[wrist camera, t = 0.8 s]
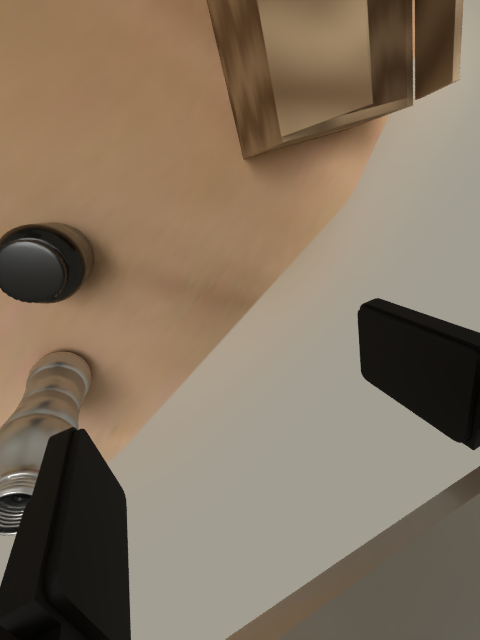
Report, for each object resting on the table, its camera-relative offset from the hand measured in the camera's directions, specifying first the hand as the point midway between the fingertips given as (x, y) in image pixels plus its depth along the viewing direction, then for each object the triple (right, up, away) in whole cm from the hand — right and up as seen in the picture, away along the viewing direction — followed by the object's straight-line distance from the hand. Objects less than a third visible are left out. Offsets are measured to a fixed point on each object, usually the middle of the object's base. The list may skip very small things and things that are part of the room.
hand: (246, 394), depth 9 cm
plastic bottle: (-22, -4, +27) cm, 35 cm away
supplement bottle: (-20, +10, +23) cm, 32 cm away
